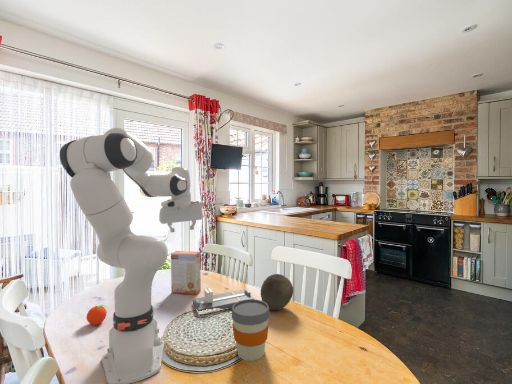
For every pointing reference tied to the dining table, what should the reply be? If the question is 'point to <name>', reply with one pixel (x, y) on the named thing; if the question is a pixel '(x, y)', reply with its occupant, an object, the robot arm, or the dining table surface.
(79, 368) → the dining table surface
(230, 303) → the console
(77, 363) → the dining table surface
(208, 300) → the fader
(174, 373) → the dining table surface
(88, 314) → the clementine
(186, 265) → the cracker box
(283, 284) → the dark grey stone
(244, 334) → the reusable coffee cup
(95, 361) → the dining table surface
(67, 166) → the robot arm
